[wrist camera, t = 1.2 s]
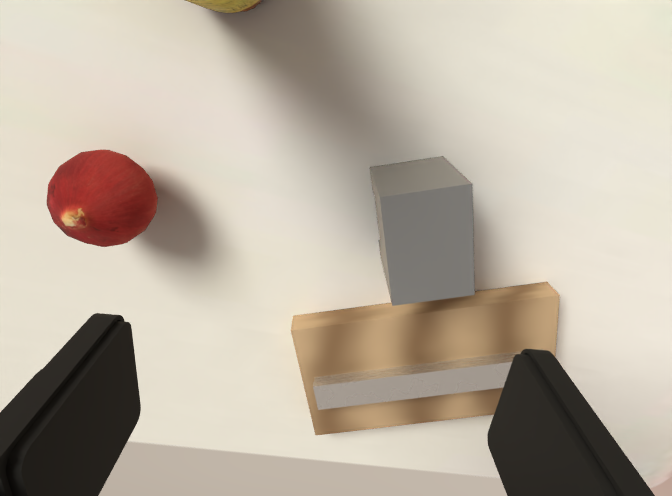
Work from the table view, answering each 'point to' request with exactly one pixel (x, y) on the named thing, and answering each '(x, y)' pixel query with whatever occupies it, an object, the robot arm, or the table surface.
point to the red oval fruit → (101, 198)
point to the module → (425, 230)
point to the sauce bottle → (227, 5)
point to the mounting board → (420, 349)
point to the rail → (413, 381)
